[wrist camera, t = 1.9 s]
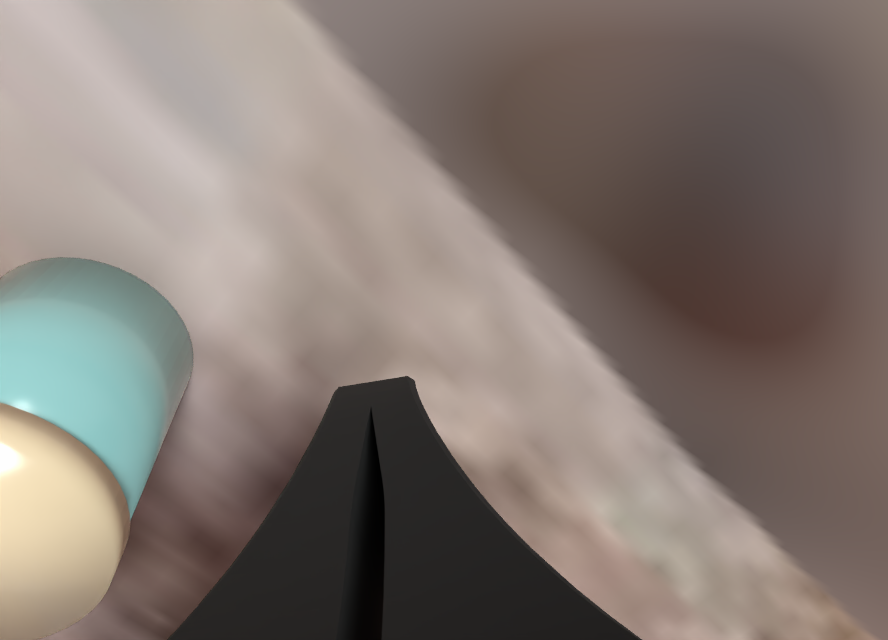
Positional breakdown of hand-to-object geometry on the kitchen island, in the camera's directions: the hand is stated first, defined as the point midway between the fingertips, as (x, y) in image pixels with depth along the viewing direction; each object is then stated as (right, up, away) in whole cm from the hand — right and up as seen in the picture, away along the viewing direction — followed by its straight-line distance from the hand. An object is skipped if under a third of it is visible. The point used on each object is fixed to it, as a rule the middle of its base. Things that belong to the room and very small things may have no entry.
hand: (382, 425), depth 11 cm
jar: (-8, +1, +4) cm, 9 cm away
